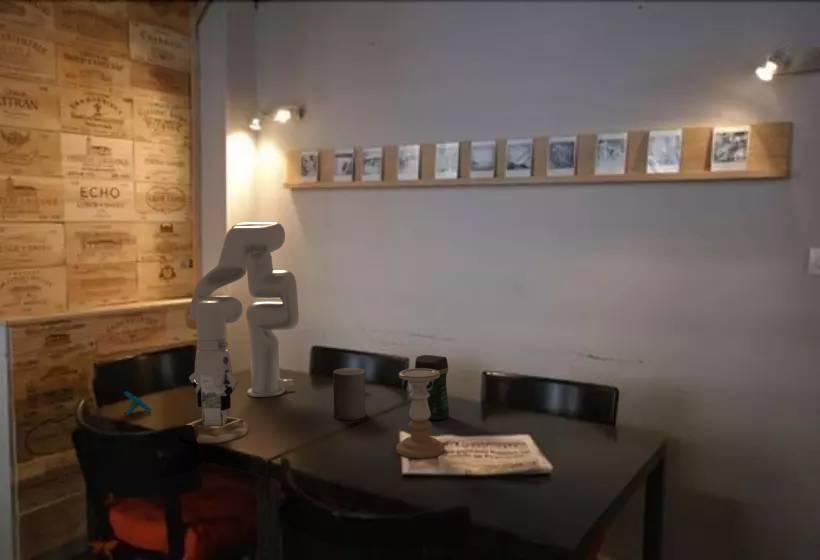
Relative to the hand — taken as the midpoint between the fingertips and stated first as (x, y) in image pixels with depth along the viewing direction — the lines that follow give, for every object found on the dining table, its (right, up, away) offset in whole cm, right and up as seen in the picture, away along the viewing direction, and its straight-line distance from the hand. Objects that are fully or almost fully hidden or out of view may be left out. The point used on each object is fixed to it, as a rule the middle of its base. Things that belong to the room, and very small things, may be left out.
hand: (214, 407), depth 192 cm
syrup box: (0, -5, 0) cm, 5 cm away
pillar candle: (+36, -6, +16) cm, 40 cm away
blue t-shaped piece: (-30, -6, +22) cm, 38 cm away
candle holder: (+57, -8, -17) cm, 60 cm away
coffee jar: (+61, -6, +13) cm, 63 cm away
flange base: (0, -7, 0) cm, 7 cm away
